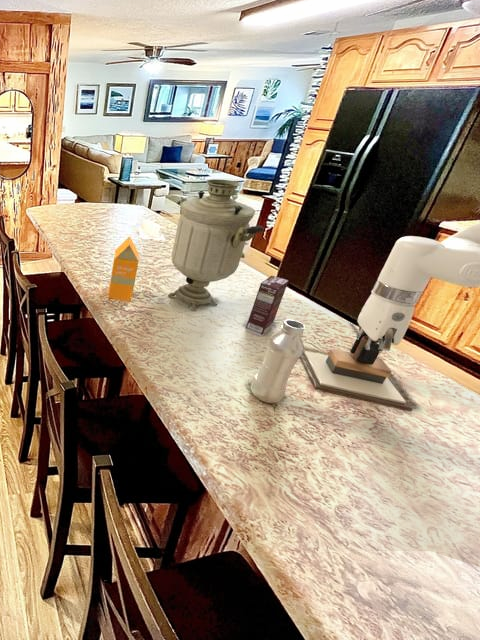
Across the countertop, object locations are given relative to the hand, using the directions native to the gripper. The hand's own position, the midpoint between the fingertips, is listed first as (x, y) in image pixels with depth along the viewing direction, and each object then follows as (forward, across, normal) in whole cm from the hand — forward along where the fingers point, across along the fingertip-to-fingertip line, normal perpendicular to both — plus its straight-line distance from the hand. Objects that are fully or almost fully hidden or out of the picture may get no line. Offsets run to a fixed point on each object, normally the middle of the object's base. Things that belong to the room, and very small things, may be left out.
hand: (361, 357), depth 94 cm
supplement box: (+6, +16, +18) cm, 25 cm away
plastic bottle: (+6, -17, +22) cm, 28 cm away
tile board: (+6, -1, +1) cm, 6 cm away
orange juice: (+6, +22, +59) cm, 63 cm away
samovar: (+6, +28, +33) cm, 44 cm away
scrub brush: (+4, 0, 0) cm, 4 cm away
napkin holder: (+6, +94, +51) cm, 108 cm away
